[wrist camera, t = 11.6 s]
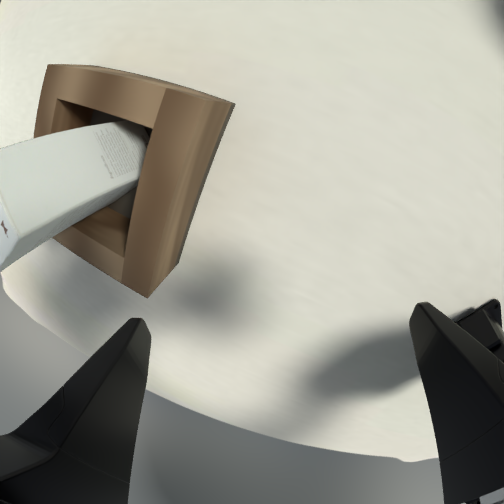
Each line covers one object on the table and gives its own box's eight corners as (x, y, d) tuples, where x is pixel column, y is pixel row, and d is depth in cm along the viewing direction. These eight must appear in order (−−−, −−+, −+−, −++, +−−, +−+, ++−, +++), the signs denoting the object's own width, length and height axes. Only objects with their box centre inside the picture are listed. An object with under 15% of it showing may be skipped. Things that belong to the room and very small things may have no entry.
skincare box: (140, 116, 17) (-17, 149, 6) (167, 167, 18) (20, 241, 8) (90, 159, 19) (-37, 214, 9) (113, 203, 20) (-6, 280, 10)
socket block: (235, 103, 16) (205, 100, 12) (178, 263, 22) (147, 298, 18) (93, 65, 16) (47, 64, 12) (68, 201, 22) (30, 221, 18)
